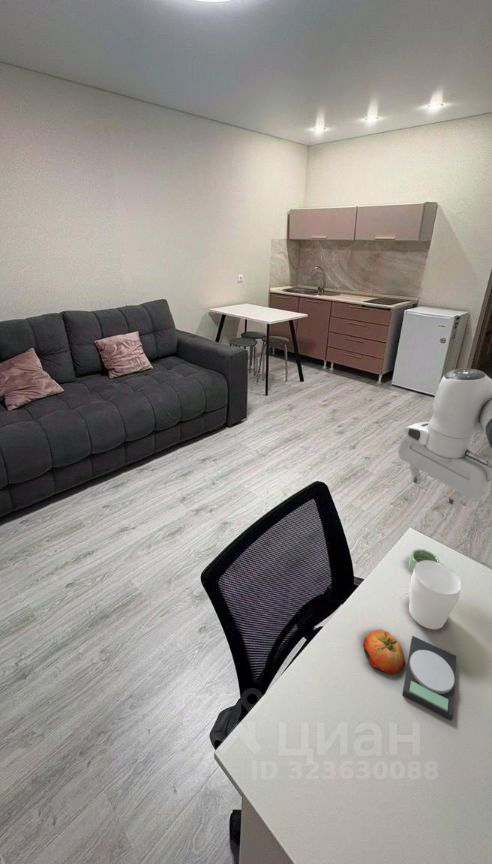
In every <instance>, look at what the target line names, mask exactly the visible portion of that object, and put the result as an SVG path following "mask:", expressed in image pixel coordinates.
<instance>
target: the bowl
mask: <svg viewBox="0 0 492 864" xmlns="http://www.w3.org/2000/svg"><path fill="white" fill-rule="evenodd" d="M424 560H430V561H435V562H438V563H441V562H440V559H439V558H438V557H437V555H435V554H434V553H433V552H432V551H430V550H427V549H423V548H417V549H413V550H412V551H411V552H410V557H409V560H408V561H409V562H408V568H409V570H410V571H411V573H412V574H413V571H414V568H415V565H416V564H417V563H418V562H420V561H424Z"/></svg>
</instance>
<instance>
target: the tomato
mask: <svg viewBox="0 0 492 864" xmlns="http://www.w3.org/2000/svg"><path fill="white" fill-rule="evenodd" d="M363 638H364V639H363V642H362V647H363V648H364V650H365V651H366V652H367V653H368V654H365V656H366V657H368V655H369V657H368V664H369V666H371V667H373V668H376V669H378V670H380V671H382V672H384V673H385V674H389V675H397V674H399V673H400V672H401V671H402V670H403V669H404V667H405V662H406V661H405V654H404V651H403V648H402V647H401V644H400V643H399V641H397V639H396V638H395V637H393V635H392V634H391V633H390V632H388V631H387V630H383V629H375V630H372V631H370V632H369V633H368V634H367V635H366V636H364V637H363Z"/></svg>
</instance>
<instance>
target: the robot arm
mask: <svg viewBox="0 0 492 864" xmlns="http://www.w3.org/2000/svg"><path fill="white" fill-rule="evenodd" d="M477 432H484V433H485V437H486V438H487V441H488V444H489V446H490V448H491V449H492V378H490V377H489V376H488V375H487V374H486V373H485V372H484V371H482V370H479V369H474V368H466V367H465V368H456V369H452V370H449V371H447V372H446V373H445V374H444V375H443V376H442V378H441V379H440V382H439V384H438V386H437V390H436V392H435V395H434V399H433V403H432V416H431V418H430V419H429V421H420V422H416V423H412V424H410V425H408V426H406V427H405V428H404V435H403V436H401V439H400V442H399V445H398V449H397V455H398V457H399V459H400V460H402V461H404V462H406V463H407V464H409V470H410V474H411V476H412V477H411V482H412V483H413V484H415V485H420V484H421V483H422V480H423V476H422V475H421V474H420V473H421V472H424V474H427V475H428V476H430V477H431V478H433V479H435V480H437V481H439V482H440V483H442V484H444V485H446V486H447V487H449V488H451V489H452V490H454V491H456V495H453V496H451V497H449V499H448V503H447V504H448V505H450V506H451V507H453V508H455V509H456V508H458V507H459V506H460V503H461V500H463V499H465V498H466V497H467V498H468V499H470V500H472V501H474V502H479V501H482V500H484V499H486V498H487V497H488V496H489V495H490V491H491V485H492V463H491V461H490V460H489V459H487V458H485V457H482V456H480V455H478V454H477V453H475V452H473V451H471V448H472V445H473V441H474V437H475V434H476V433H477ZM420 471H421V472H420Z"/></svg>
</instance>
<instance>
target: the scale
mask: <svg viewBox="0 0 492 864" xmlns="http://www.w3.org/2000/svg"><path fill="white" fill-rule="evenodd" d="M407 657H408V658H407V663H406V670H405V676H404V682H403V688H402V694H401V695H402V696H403V697H404V698H406V699H409V700H410V701H412V702H414V703H416V704H418V705H420V706H422V707H423V708H425V709H428V710H429V711H431V712H433V713H435V714H436V715H438V716H441V717H443V718H444V719H446V720H447V721H450V722H452V720H453V718H454V709H455V707H454V706H455V687H456V667H457V655H456V654H454V653H451V652H449V651H448V650H445V649H442V648H440V647H438V646H436V645H434V644H431V643H430V642H427V641H426V640H423V639H421V638H418V637H416V636H414V635H412V636H411V639H410V646H409V651H408V656H407Z"/></svg>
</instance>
